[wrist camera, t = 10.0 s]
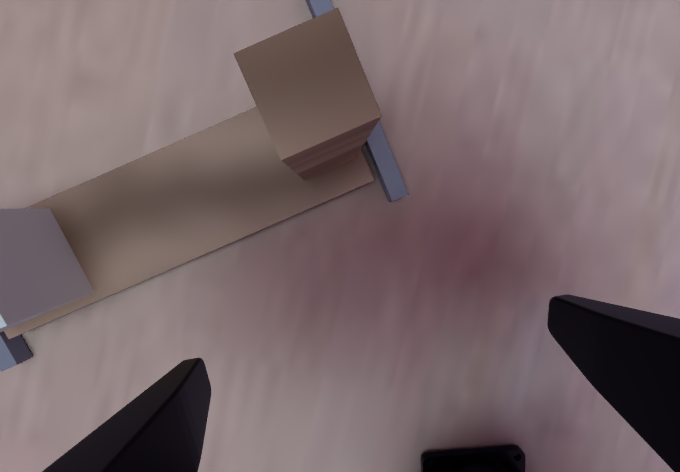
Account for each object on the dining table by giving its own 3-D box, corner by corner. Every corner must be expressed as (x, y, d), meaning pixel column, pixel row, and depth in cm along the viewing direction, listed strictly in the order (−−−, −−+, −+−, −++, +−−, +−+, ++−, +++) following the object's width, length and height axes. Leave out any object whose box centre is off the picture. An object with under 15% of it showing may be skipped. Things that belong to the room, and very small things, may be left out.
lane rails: (404, 194, 20) (408, 194, 19) (17, 362, 20) (1, 371, 19) (284, -102, 18) (281, -121, 17) (-142, 87, 18) (-170, 81, 17)
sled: (371, 181, 19) (419, 160, 9) (25, 332, 19) (-295, 471, 9) (330, 81, 18) (332, -58, 9) (-29, 238, 19) (-434, 281, 9)
